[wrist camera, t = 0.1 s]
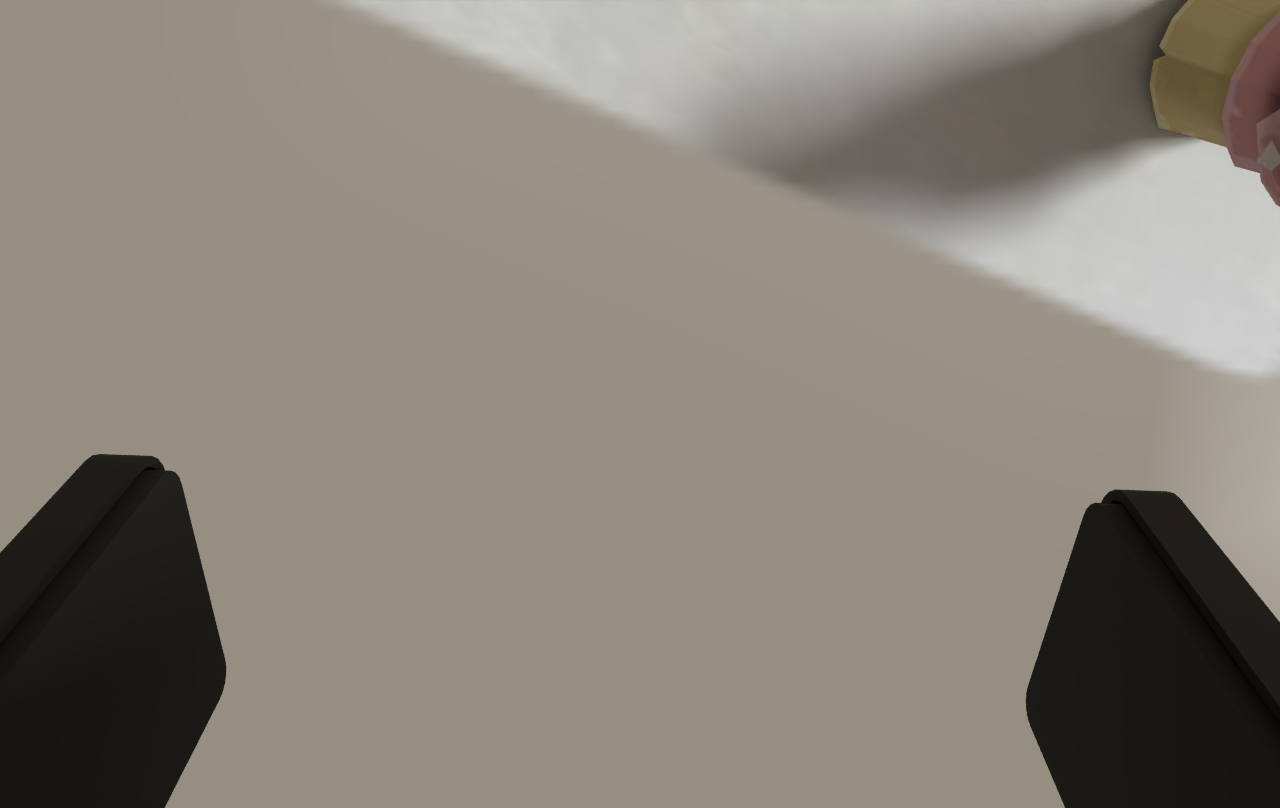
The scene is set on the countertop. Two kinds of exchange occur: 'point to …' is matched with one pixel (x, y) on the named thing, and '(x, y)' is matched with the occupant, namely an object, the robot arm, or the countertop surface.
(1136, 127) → the countertop surface
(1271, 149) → the scroll
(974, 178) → the countertop surface
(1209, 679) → the robot arm
